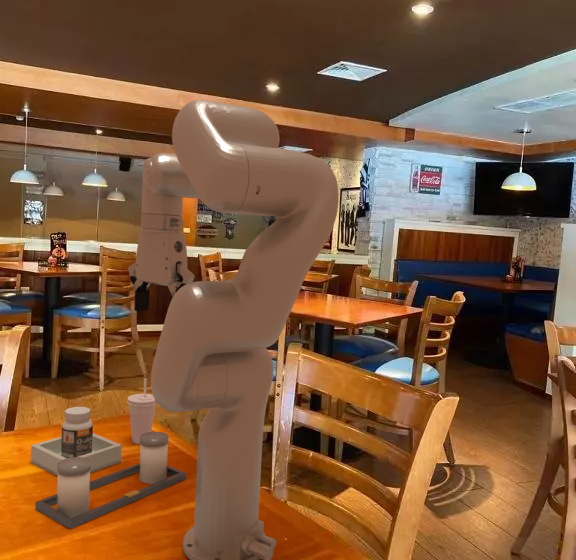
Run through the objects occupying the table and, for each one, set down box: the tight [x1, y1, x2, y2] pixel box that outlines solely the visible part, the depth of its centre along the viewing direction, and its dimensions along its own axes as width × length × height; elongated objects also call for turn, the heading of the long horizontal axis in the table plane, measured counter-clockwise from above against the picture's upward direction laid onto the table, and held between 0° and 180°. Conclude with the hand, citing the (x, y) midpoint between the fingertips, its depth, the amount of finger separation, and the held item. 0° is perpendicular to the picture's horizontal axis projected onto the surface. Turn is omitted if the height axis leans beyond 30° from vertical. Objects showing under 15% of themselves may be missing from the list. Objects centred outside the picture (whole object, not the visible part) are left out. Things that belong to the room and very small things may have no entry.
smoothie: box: [126, 377, 157, 445], centre depth 128 cm, size 6×6×14 cm
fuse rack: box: [34, 462, 187, 530], centre depth 104 cm, size 10×25×1 cm, turn 144°
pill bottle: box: [60, 406, 94, 458], centre depth 115 cm, size 6×6×10 cm
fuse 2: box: [138, 431, 170, 485], centre depth 111 cm, size 5×5×8 cm
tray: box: [30, 432, 123, 477], centre depth 116 cm, size 12×12×4 cm
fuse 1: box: [56, 457, 91, 518], centre depth 97 cm, size 5×5×8 cm
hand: (158, 313), depth 113 cm, fingers open, 9 cm apart
